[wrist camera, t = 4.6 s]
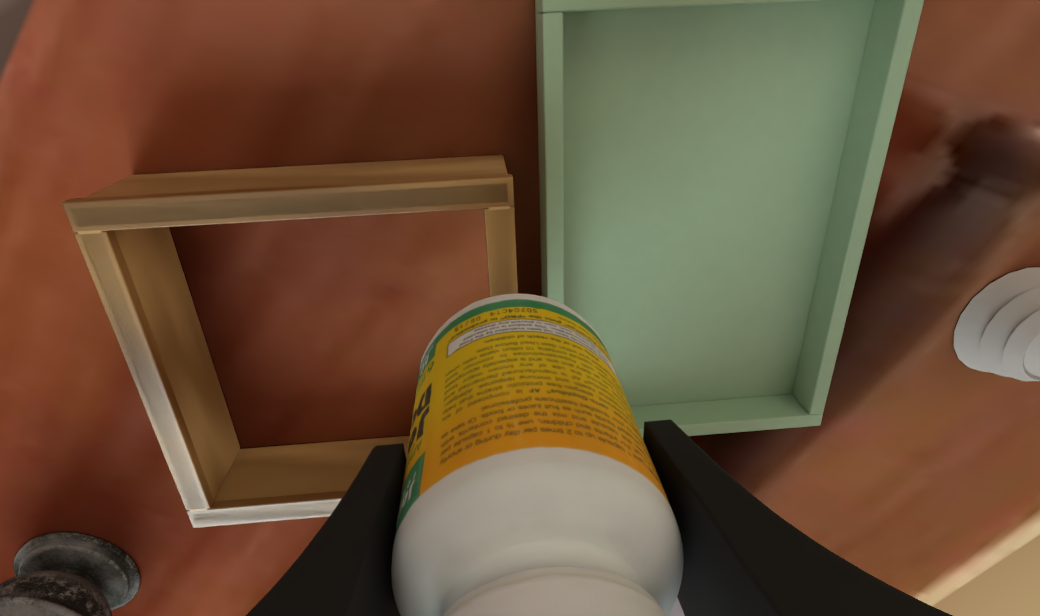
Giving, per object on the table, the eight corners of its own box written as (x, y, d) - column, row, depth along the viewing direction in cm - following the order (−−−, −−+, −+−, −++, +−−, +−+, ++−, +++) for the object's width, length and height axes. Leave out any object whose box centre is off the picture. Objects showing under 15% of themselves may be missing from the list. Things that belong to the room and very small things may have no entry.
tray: (796, 397, 26) (820, 425, 24) (544, 417, 25) (549, 447, 24) (887, -24, 18) (932, -28, 17) (534, -10, 18) (541, -12, 16)
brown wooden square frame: (520, 441, 26) (526, 500, 23) (226, 464, 25) (192, 528, 22) (506, 151, 20) (513, 176, 17) (126, 171, 19) (60, 202, 16)
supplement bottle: (611, 432, 18) (740, 814, 9) (438, 457, 18) (408, 865, 9) (602, 272, 15) (764, 592, 7) (400, 300, 15) (314, 661, 7)
